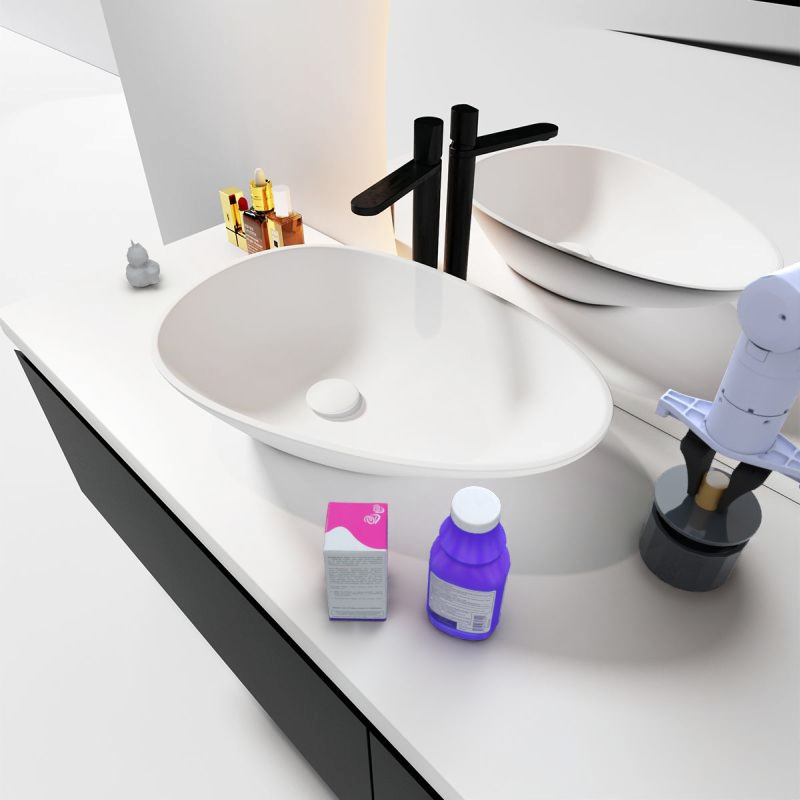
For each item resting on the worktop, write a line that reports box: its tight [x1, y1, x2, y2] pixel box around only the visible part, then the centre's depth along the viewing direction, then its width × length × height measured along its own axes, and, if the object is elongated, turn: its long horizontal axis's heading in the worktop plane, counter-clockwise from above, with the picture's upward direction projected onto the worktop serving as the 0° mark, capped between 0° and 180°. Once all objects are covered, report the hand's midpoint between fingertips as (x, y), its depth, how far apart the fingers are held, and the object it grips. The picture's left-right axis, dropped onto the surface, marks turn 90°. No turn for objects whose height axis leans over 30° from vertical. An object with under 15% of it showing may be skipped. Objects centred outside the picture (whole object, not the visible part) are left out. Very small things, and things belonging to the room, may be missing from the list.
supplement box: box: [322, 501, 389, 622], centre depth 66 cm, size 6×6×12 cm
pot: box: [638, 497, 751, 593], centre depth 72 cm, size 9×9×6 cm
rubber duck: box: [125, 239, 161, 288], centre depth 111 cm, size 5×7×8 cm
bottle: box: [426, 485, 511, 641], centre depth 63 cm, size 7×6×17 cm
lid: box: [652, 463, 763, 546], centre depth 67 cm, size 10×10×4 cm
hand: (709, 498), depth 68 cm, fingers closed on lid, 2 cm apart
